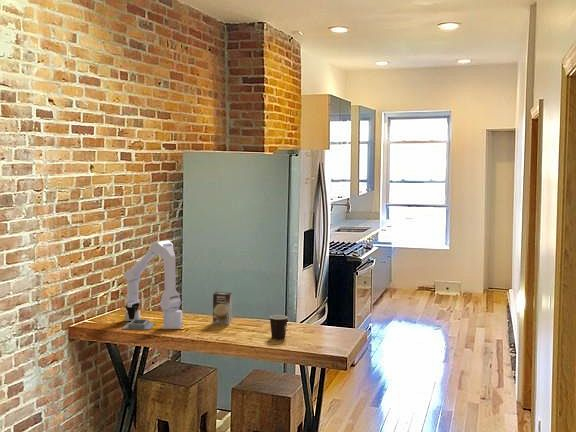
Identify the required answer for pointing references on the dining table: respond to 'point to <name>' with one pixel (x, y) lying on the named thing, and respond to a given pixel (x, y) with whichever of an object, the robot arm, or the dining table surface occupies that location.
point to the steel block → (136, 316)
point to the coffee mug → (278, 326)
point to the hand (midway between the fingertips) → (132, 317)
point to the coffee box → (222, 308)
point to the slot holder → (139, 324)
